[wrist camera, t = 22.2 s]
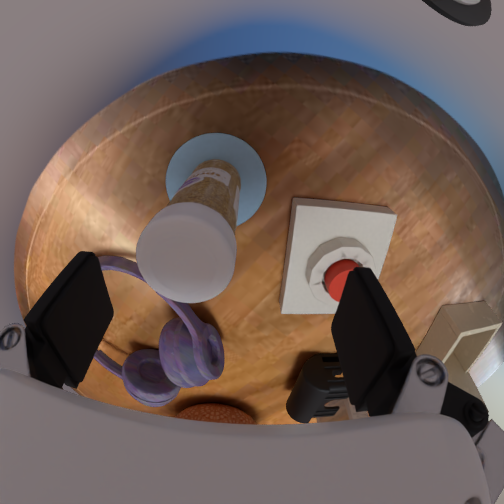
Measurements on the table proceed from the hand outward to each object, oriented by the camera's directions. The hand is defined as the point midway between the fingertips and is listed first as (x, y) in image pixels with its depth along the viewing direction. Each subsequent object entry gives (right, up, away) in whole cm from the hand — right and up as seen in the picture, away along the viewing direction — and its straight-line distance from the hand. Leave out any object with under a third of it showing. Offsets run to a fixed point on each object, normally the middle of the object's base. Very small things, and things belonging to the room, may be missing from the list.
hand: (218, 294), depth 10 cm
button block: (+9, +1, +18) cm, 20 cm away
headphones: (-13, -7, +22) cm, 26 cm away
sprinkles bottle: (-2, +8, +14) cm, 16 cm away
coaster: (-2, +8, +14) cm, 16 cm away
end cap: (+10, -16, +28) cm, 34 cm away
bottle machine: (+35, -12, +26) cm, 45 cm away
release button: (+10, -1, +15) cm, 18 cm away
